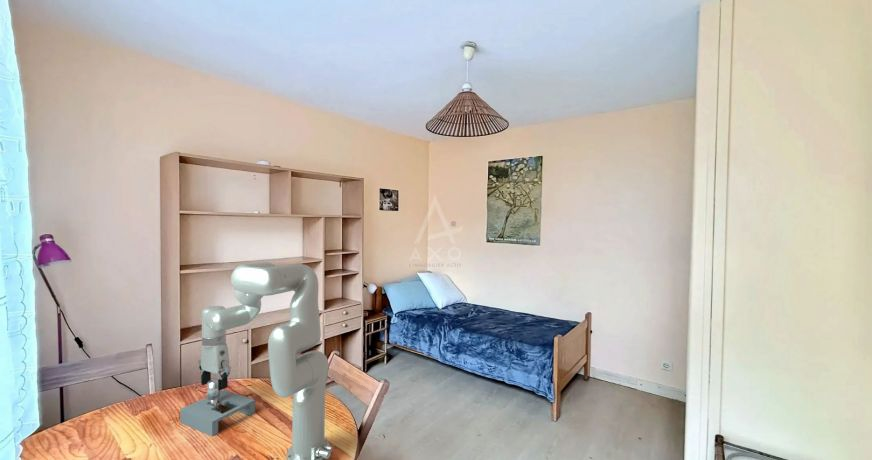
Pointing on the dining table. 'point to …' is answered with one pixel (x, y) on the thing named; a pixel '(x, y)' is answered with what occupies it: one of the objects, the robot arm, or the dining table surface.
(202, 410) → the keyhole plate
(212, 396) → the steel peg
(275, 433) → the dining table surface
